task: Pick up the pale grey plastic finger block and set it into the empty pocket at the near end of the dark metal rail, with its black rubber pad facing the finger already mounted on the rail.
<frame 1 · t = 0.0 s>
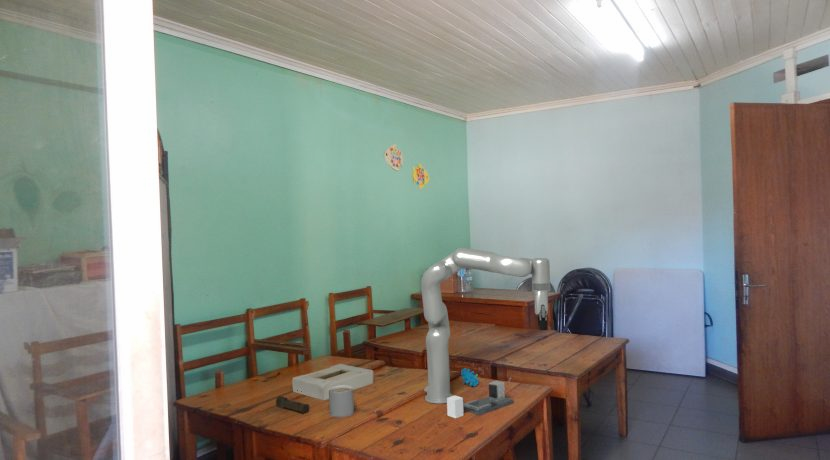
hand: (542, 327, 220), 31 cm above the table, tool pointing down, fingers open, 9 cm apart
box: (333, 388, 250), on the table
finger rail: (487, 406, 216), on the table
coffee mug: (344, 412, 216), on the table
gear: (470, 385, 247), on the table
finger block: (455, 415, 207), on the table
hand tool: (290, 410, 220), on the table
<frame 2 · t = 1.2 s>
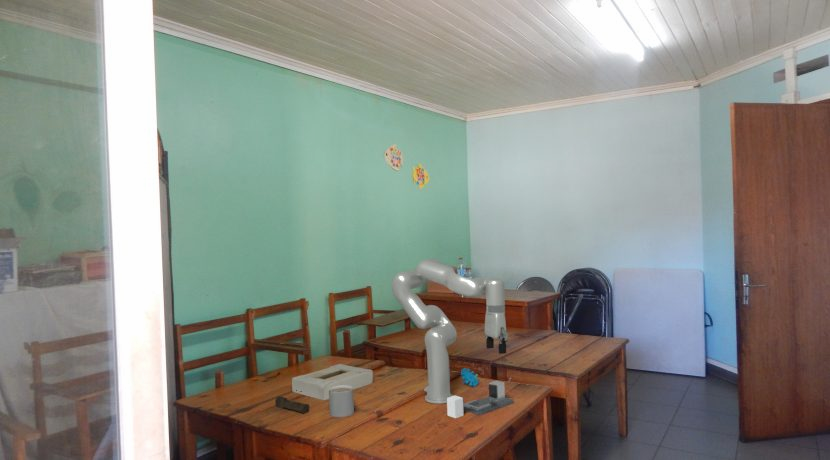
hand: (496, 350, 213), 24 cm above the table, tool pointing down, fingers open, 9 cm apart
nothing on the table moved.
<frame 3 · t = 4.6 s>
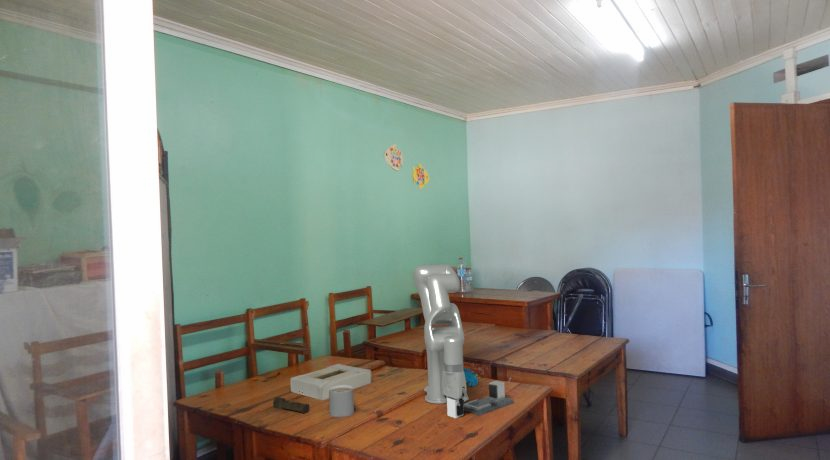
hand: (455, 412, 207), 1 cm above the table, tool pointing down, fingers closed on finger block, 4 cm apart
finger block: (455, 415, 207), on the table, touching gripper
when the fingers open (4 cm above the table, at t = 9.3 s): finger block drops 1 cm, resting on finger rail.
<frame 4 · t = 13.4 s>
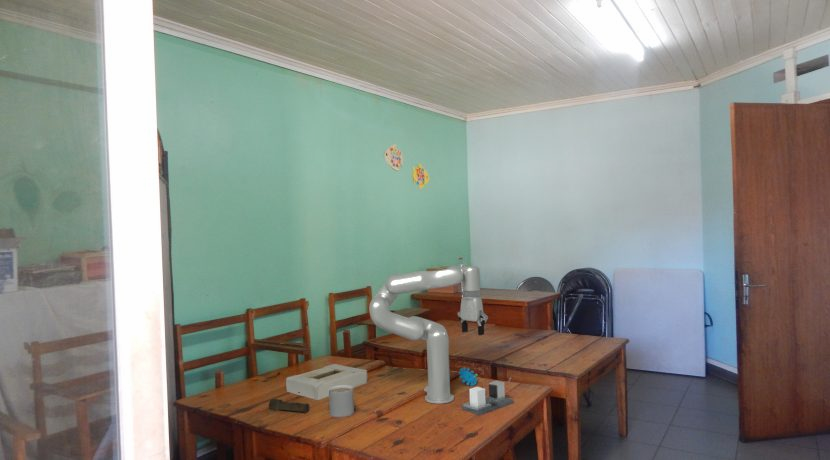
hand: (472, 333, 227), 28 cm above the table, tool pointing down, fingers open, 9 cm apart
box: (327, 388, 251), on the table
finger block: (477, 406, 212), point 1 cm above the table, touching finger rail
hand tool: (287, 412, 219), on the table
at the end: finger block 0.0 cm from the target spot on the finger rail, point 1.5 cm above the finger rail's base; finger block tilted 0°; the gripper is holding nothing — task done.
